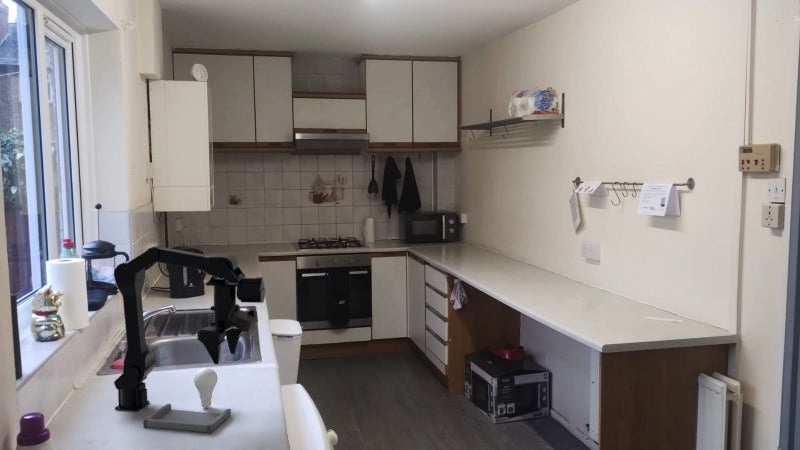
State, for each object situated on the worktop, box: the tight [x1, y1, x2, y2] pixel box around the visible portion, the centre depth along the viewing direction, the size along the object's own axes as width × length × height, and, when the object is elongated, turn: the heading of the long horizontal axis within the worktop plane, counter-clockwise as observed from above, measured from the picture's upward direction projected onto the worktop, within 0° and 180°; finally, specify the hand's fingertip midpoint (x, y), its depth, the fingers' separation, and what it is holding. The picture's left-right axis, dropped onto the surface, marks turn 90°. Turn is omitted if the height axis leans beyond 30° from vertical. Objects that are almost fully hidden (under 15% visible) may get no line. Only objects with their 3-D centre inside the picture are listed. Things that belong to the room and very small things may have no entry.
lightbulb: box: [193, 367, 219, 409], centre depth 167 cm, size 6×6×11 cm
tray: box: [142, 403, 232, 435], centre depth 159 cm, size 18×11×2 cm, turn 80°
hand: (224, 358), depth 168 cm, fingers open, 9 cm apart
